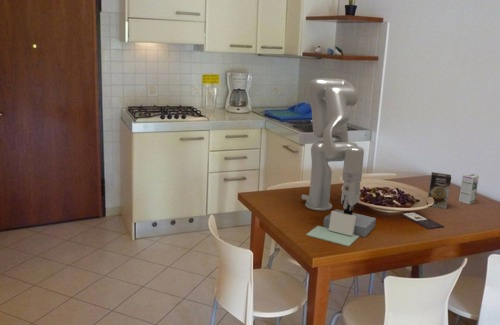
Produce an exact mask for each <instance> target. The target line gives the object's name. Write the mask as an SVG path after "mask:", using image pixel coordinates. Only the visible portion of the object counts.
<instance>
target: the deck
mask: <svg viewBox="0 0 500 325" xmlns="http://www.w3.org/2000/svg"><path fill="white" fill-rule="evenodd" d="M333 211H336V212H341V213H344V210H341V209H337V208H336V209H334V210H333ZM352 215H354V216H357V217H356V223H355V229H354V234H353V235H357V236H359V237H361V238H366V236H368V235H369V234H370V232H371V231H373V229H375V228H376V221H377V218H376V217H371V216H368V215H364V214H359V213H355V212H353V214H352ZM330 218H331V212H330V213H329V214H328V215H326V216H324V217H323V224H322V225H323V226H322V227H325V228H329V224H330Z"/></svg>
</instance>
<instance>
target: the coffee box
mask: <svg viewBox="0 0 500 325" xmlns="http://www.w3.org/2000/svg"><path fill="white" fill-rule="evenodd" d="M451 181H452V175H451V174H448V173H447V174H446V173H440V172H434V171H433V172H432V171H431V175H430V182H429V186H428V187H429V188H428V191H427V192H428V193H427V198H428V197H433V199H434V204H433V205H432V208H439V209H444V210H446V209H447V205H448V201H449V200H448V199H449V195H450V189H451Z"/></svg>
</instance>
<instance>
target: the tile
mask: <svg viewBox="0 0 500 325" xmlns="http://www.w3.org/2000/svg"><path fill="white" fill-rule="evenodd" d="M330 213H331V218H330V224H329V229H328V230H329V231H333V232H337V233H341V234H345V235H349V236H353V234H354V229H355V223H356V217H357V216H354V215H349V214H345V213H341V212H336V211H334V210H332V211H330Z"/></svg>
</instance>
